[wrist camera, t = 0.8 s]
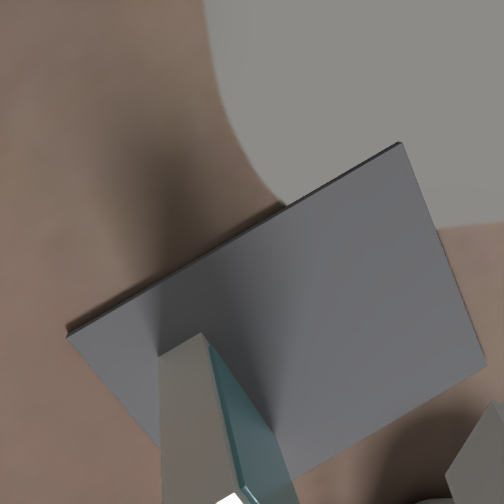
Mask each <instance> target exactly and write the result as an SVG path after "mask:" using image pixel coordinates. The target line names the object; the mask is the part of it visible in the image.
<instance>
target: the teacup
mask: <svg viewBox="0 0 504 504" xmlns="http://www.w3.org/2000/svg"><path fill="white" fill-rule="evenodd" d="M415 504H455V503H454V500H453V498H440V499H428V500H423V501H420V502H417V503H415Z"/></svg>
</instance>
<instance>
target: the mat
mask: <svg viewBox="0 0 504 504" xmlns="http://www.w3.org/2000/svg"><path fill="white" fill-rule="evenodd" d="M201 332H202V334H203V335H204V337H205V338H206V340H207V341H208V343H209V344H210V345H213V347H214V348H215V349H216V351H217V352H218V354H219V355H220V357H221V358H222V360H223V361H224V363H225V364H226V365H227V367H228V368H229V370H230V371H231V373H232V374H233V376H234V377H235V379H236V380H237V381H238V383H239V384H240V386H241V387H242V389H243V390H244V392H245V393H246V395H247V396H248V398H249V399H250V400H251V402H252V403H253V405H254V406H255V408H256V409H257V411H258V412H259V414H260V415H261V416H262V418H263V419H264V421H265V422H266V424H267V425H268V427H269V428H270V430H271V431H272V432H273V434H274V435H275V437H276V438H277V441H278V444H279V447H280V450H281V452H282V455H283V458H284V461H285V464H286V466H287V469H288V472H289V475H290V478H291V481H292V480H294V479H296V478H297V477H299V476H301V475H302V474H304V473H306V472H308V471H309V470H311V469H313V468H314V467H316V466H318V465H320V464H321V463H323V462H325V461H326V460H328V459H330V458H332V457H333V456H335V455H337V454H338V453H340V452H342V451H344V450H345V449H347V448H349V447H350V446H352V445H354V444H355V443H357V442H359V441H361V440H362V439H364V438H366V437H367V436H369V435H371V434H373V433H374V432H376V431H378V430H379V429H381V428H383V427H385V426H386V425H388V424H390V423H391V422H393V421H395V420H397V419H398V418H400V417H402V416H403V415H405V414H407V413H408V412H410V411H412V410H414V409H415V408H417V407H419V406H420V405H422V404H424V403H426V402H427V401H429V400H431V399H432V398H434V397H436V396H438V395H439V394H441V393H443V392H444V391H446V390H448V389H450V388H451V387H453V386H455V385H456V384H458V383H460V382H461V381H463V380H465V379H467V378H468V377H470V376H472V375H473V374H475V373H477V372H479V371H480V370H482V369H484V368H485V367H487V366H488V365H487V363H486V360H485V357H484V355H483V352H482V350H481V347H480V344H479V342H478V339H477V337H476V334H475V331H474V329H473V326H472V323H471V321H470V318H469V316H468V313H467V310H466V308H465V305H464V303H463V300H462V297H461V295H460V292H459V290H458V287H457V284H456V282H455V279H454V276H453V274H452V271H451V269H450V266H449V263H448V261H447V258H446V256H445V253H444V250H443V248H442V245H441V243H440V240H439V237H438V235H437V232H436V229H435V227H434V224H433V222H432V219H431V216H430V214H429V211H428V209H427V206H426V203H425V201H424V198H423V196H422V193H421V190H420V188H419V185H418V183H417V180H416V177H415V175H414V172H413V170H412V167H411V164H410V162H409V159H408V157H407V154H406V151H405V149H404V146H403V143H402V142H396V143H395V144H393V145H391V146H389V147H388V148H386V149H384V150H383V151H381V152H379V153H377V154H376V155H374V156H372V157H371V158H369V159H367V160H365V161H364V162H362V163H360V164H359V165H357V166H355V167H353V168H352V169H350V170H348V171H347V172H345V173H343V174H341V175H340V176H338V177H336V178H335V179H333V180H331V181H329V182H328V183H326V184H324V185H322V186H321V187H319V188H317V189H316V190H314V191H312V192H310V193H309V194H307V195H305V196H304V197H302V198H300V199H299V200H297V201H295V202H293V203H292V204H290V205H288V206H286V207H285V208H283V209H281V210H280V211H278V212H276V213H274V214H273V215H271V216H269V217H267V218H266V219H264V220H262V221H261V222H259V223H257V224H255V225H254V226H252V227H250V228H249V229H247V230H245V231H243V232H242V233H240V234H238V235H237V236H235V237H233V238H231V239H230V240H228V241H226V242H225V243H223V244H221V245H219V246H218V247H216V248H214V249H213V250H211V251H209V252H207V253H206V254H204V255H202V256H201V257H199V258H197V259H195V260H194V261H192V262H190V263H188V264H187V265H185V266H183V267H182V268H180V269H178V270H176V271H175V272H173V273H171V274H170V275H168V276H166V277H164V278H163V279H161V280H159V281H158V282H156V283H154V284H152V285H151V286H149V287H147V288H146V289H144V290H142V291H140V292H139V293H137V294H135V295H134V296H132V297H130V298H128V299H127V300H125V301H123V302H122V303H120V304H118V305H116V306H115V307H113V308H111V309H109V310H108V311H106V312H104V313H103V314H101V315H99V316H97V317H96V318H94V319H92V320H91V321H89V322H87V323H85V324H84V325H82V326H80V327H79V328H77V329H75V330H73V331H72V332H70V333H68V334H67V337H66V339H67V340H68V341H69V342H70V343H71V345H72V346H73V347H74V348H75V349H76V351H77V352H78V353H79V354H80V355H81V356H82V358H83V359H84V360H85V361H86V362H87V364H88V365H89V366H90V367H91V368H92V369H93V371H94V372H95V373H96V374H97V375H98V377H99V378H100V379H101V380H102V381H103V382H104V384H105V385H106V386H107V387H108V388H109V390H110V391H111V392H112V393H113V394H114V395H115V397H116V398H117V399H118V400H119V401H120V403H121V404H122V405H123V406H124V407H125V408H126V410H127V411H128V412H129V413H130V414H131V416H132V417H133V418H134V419H135V420H136V421H137V423H138V424H139V425H140V426H141V427H142V429H143V430H144V431H145V432H146V433H147V434H148V436H149V437H150V438H151V439H152V440H153V442H154V443H155V444H156V445H157V446H158V447H159V449H160V450H161V444H160V411H159V378H158V357H159V356H161V355H163V354H165V353H166V352H168V351H170V350H171V349H173V348H175V347H177V346H178V345H180V344H182V343H183V342H185V341H187V340H189V339H190V338H192V337H194V336H195V335H197V334H199V333H201Z"/></svg>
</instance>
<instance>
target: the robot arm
mask: <svg viewBox="0 0 504 504" xmlns="http://www.w3.org/2000/svg"><path fill="white" fill-rule="evenodd" d="M445 478H446V480H447V483H448V486H449V489H450V492H451V494H452V497H453V500H454V503H455V504H504V404H503V403H499V402H494V401H491V402H490V403H489V405H488V407H487V408H486V410H485V411H484V413H483V415H482V416H481V418H480V419H479V421H478V423H477V424H476V426H475V427H474V429H473V431H472V432H471V434H470V435H469V437H468V438H467V440H466V442H465V443H464V445H463V446H462V448H461V450H460V451H459V453H458V454H457V456H456V458H455V459H454V461H453V462H452V464H451V466H450V467H449V469H448V470H447V472H446V474H445Z"/></svg>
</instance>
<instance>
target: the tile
mask: <svg viewBox="0 0 504 504" xmlns="http://www.w3.org/2000/svg"><path fill="white" fill-rule="evenodd" d="M158 378H159V411H160V444H161V477H162V504H300V503H299V500H298V498H297V495H296V492H295V489H294V486H293V483H292V481H291V478H290V475H289V472H288V469H287V466H286V464H285V461H284V458H283V455H282V452H281V450H280V447H279V444H278V441H277V438H276V437H275V435H274V434H273V432H272V431H271V430H270V428H269V427H268V425H267V424H266V422H265V421H264V419H263V418H262V416H261V415H260V414H259V412H258V411H257V409H256V408H255V406H254V405H253V403H252V402H251V400H250V399H249V398H248V396H247V395H246V393H245V392H244V390H243V389H242V387H241V386H240V384H239V383H238V381H237V380H236V379H235V377H234V376H233V374H232V373H231V371H230V370H229V368H228V367H227V365H226V364H225V363H224V361H223V360H222V358H221V357H220V355H219V354H218V352H217V351H216V349H215V348H214V347H213V345H210V344H209V343H208V341H207V340H206V338H205V337H204V335H203V334H202V332H201V333H199V334H197V335H195V336H194V337H192V338H190V339H189V340H187V341H185V342H183V343H182V344H180V345H178V346H177V347H175V348H173V349H171V350H170V351H168V352H166V353H165V354H163V355H161V356H159V357H158Z"/></svg>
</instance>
